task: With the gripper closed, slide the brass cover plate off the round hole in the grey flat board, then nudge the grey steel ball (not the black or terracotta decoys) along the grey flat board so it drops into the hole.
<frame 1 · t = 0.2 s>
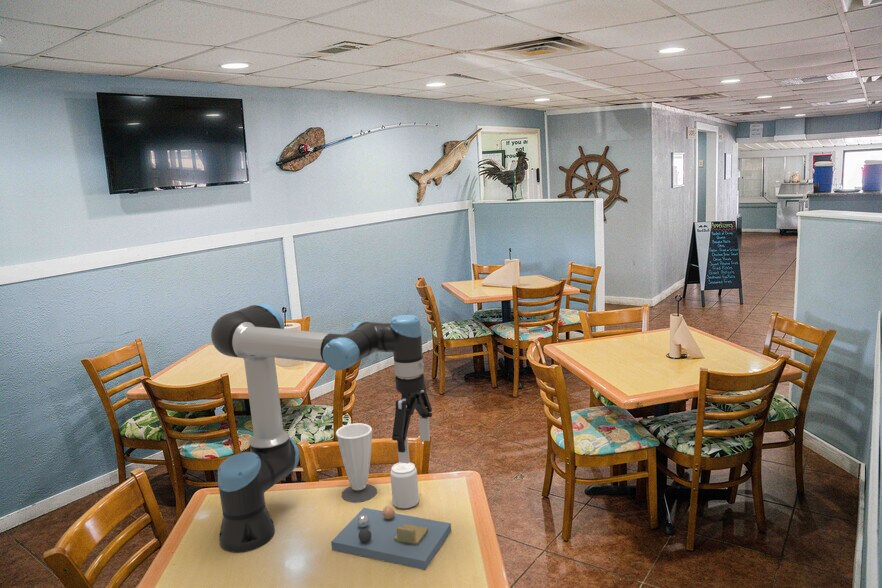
hand: (415, 450, 163), 27 cm above the table, fingers open, 13 cm apart
terracotta ball: (388, 512, 176), point 4 cm above the table, touching grey flat board
grey flat board: (392, 540, 170), on the table
cup: (359, 493, 197), on the table
brass cover: (411, 529, 167), point 5 cm above the table, slide at 0.0 cm
steel ball: (362, 521, 173), point 4 cm above the table, touching grey flat board
beverage can: (405, 503, 189), on the table
black ball: (364, 535, 166), point 4 cm above the table, touching grey flat board
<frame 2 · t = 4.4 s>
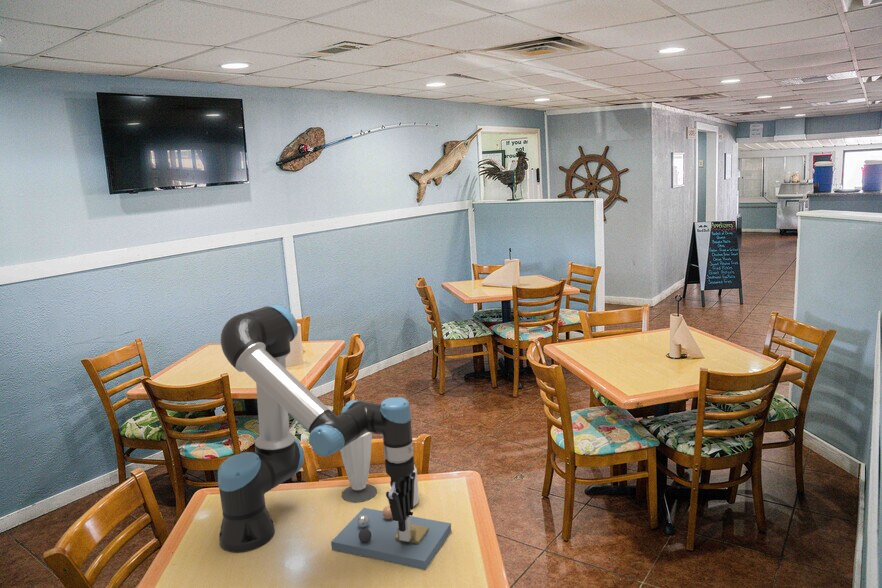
hand: (405, 539, 164), 4 cm above the table, fingers closed
brass cover: (411, 528, 167), point 5 cm above the table, slide at 0.4 cm, touching gripper
everything else where it was.
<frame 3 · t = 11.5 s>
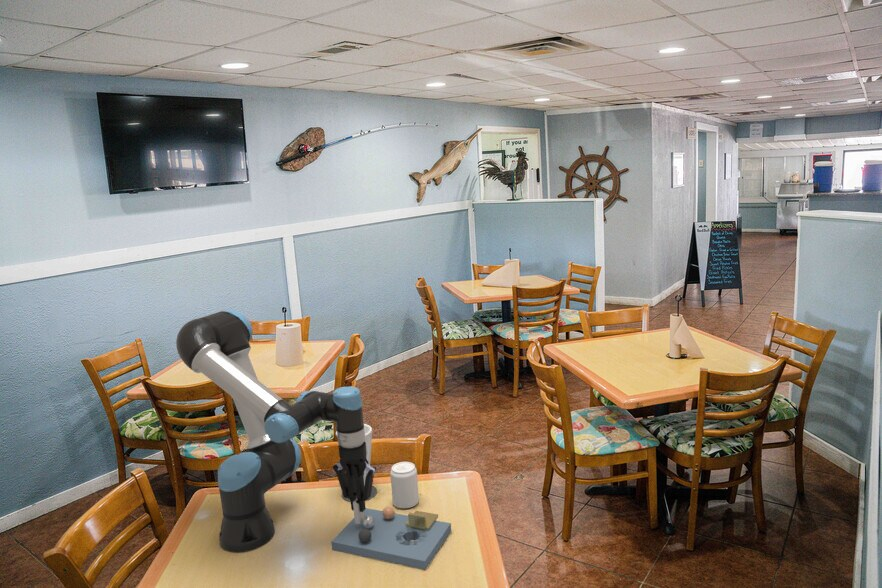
hand: (359, 520, 173), 4 cm above the table, fingers closed
brass cover: (421, 515, 173), point 5 cm above the table, slide at 7.2 cm
steel ball: (368, 522, 172), point 4 cm above the table, tilted 50°, touching grey flat board
everything else where it was.
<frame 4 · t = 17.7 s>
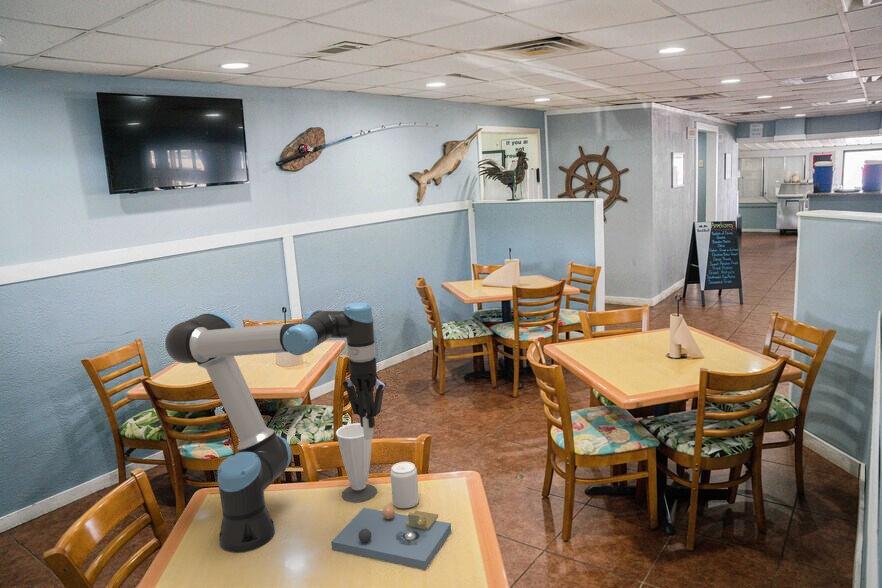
hand: (368, 437, 175), 26 cm above the table, fingers closed
steel ball: (410, 538, 168), point 2 cm above the table, tilted 172°
everything else where it was.
at the end: brass cover slide at 7.2 cm; steel ball 0.4 cm from the target spot in the grey flat board, point 1.7 cm above the grey flat board's base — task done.
